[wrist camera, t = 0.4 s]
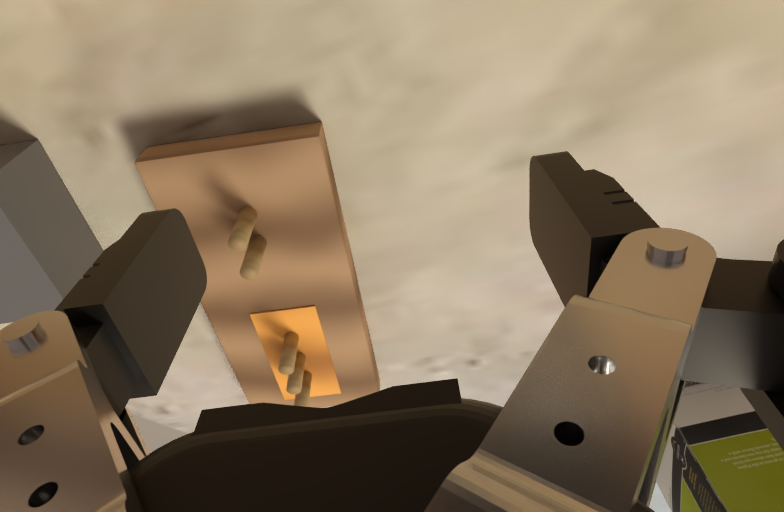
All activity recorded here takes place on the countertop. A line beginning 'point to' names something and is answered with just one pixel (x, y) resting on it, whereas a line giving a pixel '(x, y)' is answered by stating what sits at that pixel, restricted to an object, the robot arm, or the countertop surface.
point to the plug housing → (38, 234)
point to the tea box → (720, 455)
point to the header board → (272, 261)
